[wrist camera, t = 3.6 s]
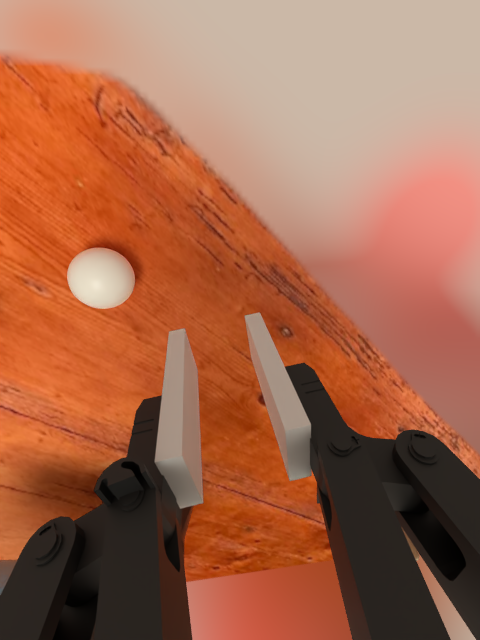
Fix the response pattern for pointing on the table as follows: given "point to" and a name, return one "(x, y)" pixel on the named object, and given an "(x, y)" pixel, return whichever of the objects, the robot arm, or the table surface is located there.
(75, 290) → the cue ball
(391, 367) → the table surface
